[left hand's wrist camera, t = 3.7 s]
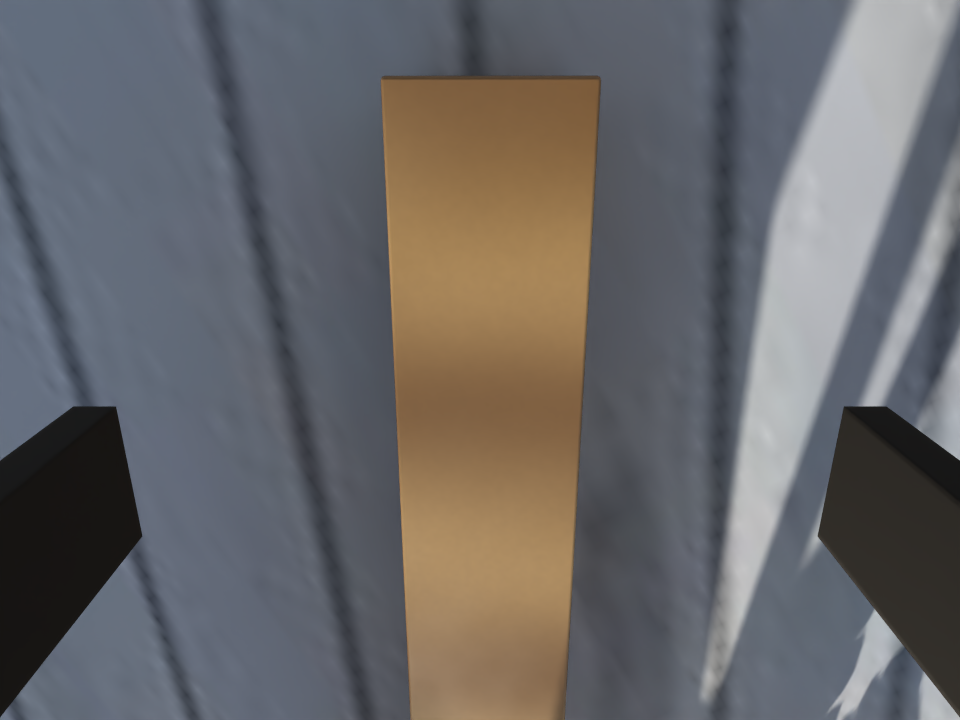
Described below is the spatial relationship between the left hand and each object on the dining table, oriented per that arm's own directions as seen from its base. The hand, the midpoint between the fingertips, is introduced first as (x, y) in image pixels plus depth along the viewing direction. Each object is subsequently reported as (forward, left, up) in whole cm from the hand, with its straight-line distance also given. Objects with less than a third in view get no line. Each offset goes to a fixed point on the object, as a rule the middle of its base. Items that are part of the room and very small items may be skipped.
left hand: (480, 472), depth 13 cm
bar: (-3, +27, -12) cm, 30 cm away
